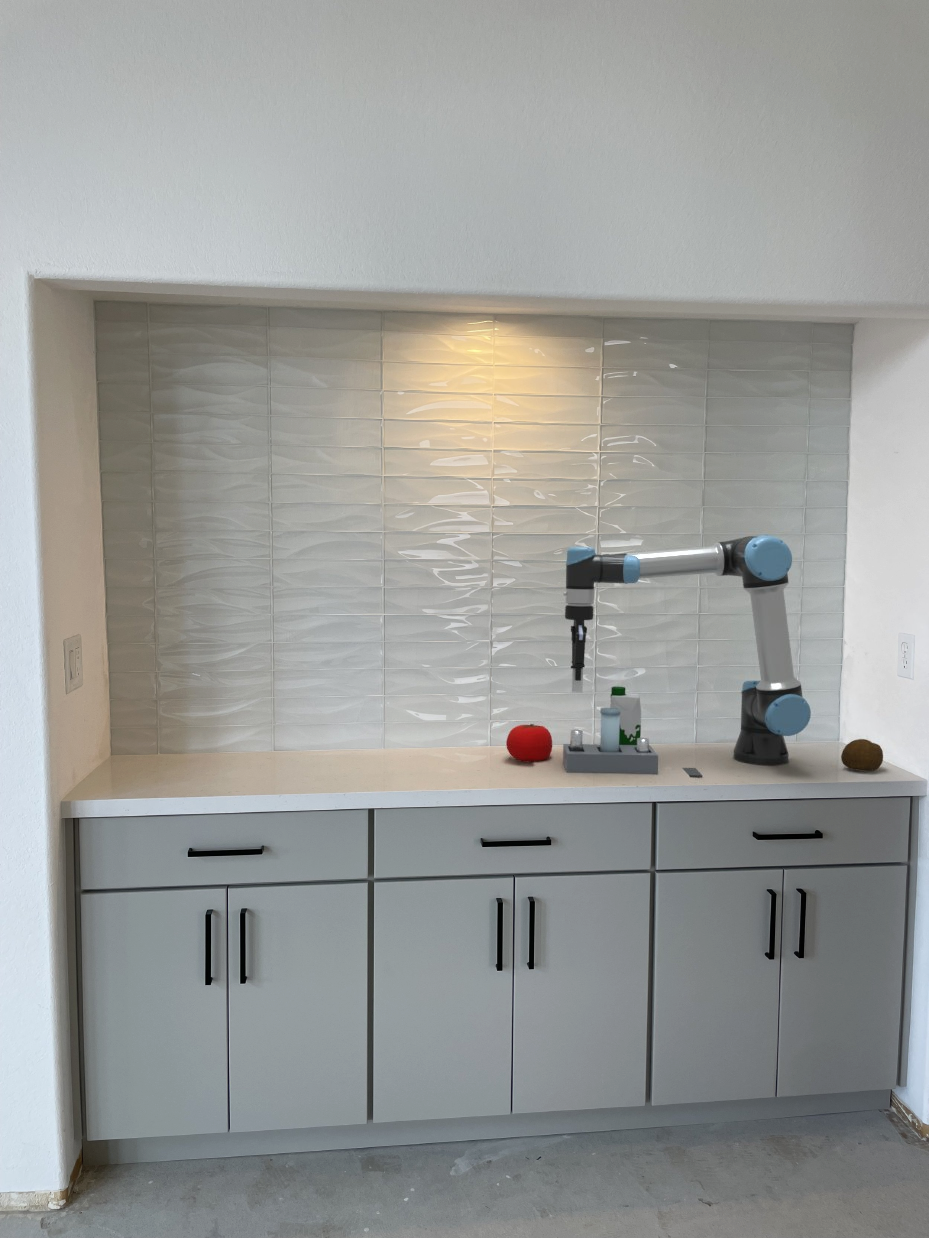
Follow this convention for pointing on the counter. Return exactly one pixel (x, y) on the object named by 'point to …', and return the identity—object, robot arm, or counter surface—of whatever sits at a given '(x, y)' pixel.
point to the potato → (862, 755)
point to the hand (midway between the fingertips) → (577, 691)
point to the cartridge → (610, 729)
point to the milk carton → (627, 715)
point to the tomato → (529, 743)
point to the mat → (693, 772)
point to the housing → (610, 760)
